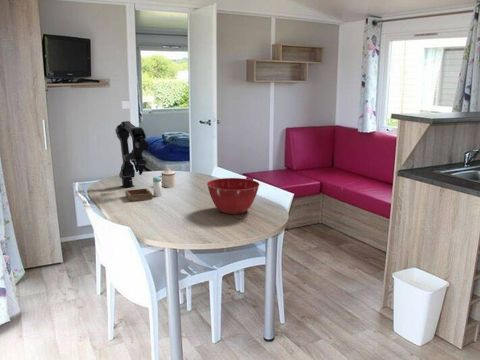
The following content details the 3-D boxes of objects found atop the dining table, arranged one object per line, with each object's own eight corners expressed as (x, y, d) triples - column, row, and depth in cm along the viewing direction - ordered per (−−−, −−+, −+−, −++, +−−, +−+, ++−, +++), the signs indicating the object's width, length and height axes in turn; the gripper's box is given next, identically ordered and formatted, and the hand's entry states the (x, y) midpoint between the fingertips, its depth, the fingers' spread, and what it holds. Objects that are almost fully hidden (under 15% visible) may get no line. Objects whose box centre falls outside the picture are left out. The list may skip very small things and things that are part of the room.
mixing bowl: (223, 200, 259) (223, 175, 256) (267, 207, 246) (268, 180, 243) (197, 213, 235) (196, 185, 231) (244, 221, 222) (244, 192, 219)
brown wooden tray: (125, 197, 263) (125, 190, 262) (147, 195, 269) (146, 188, 268) (130, 203, 252) (129, 195, 251) (152, 200, 257) (152, 193, 256)
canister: (152, 196, 266) (152, 177, 263) (160, 195, 268) (159, 176, 265) (155, 199, 260) (154, 179, 258) (163, 198, 262) (162, 179, 260)
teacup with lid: (172, 183, 298) (172, 167, 296) (177, 186, 291) (176, 169, 288) (155, 185, 293) (155, 168, 290) (159, 188, 285) (159, 171, 282)
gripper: (121, 146, 271) (122, 171, 274) (127, 151, 254) (128, 177, 258) (139, 145, 275) (140, 170, 279) (146, 150, 259) (147, 176, 263)
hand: (138, 173), depth 269 cm, fingers open, 9 cm apart
